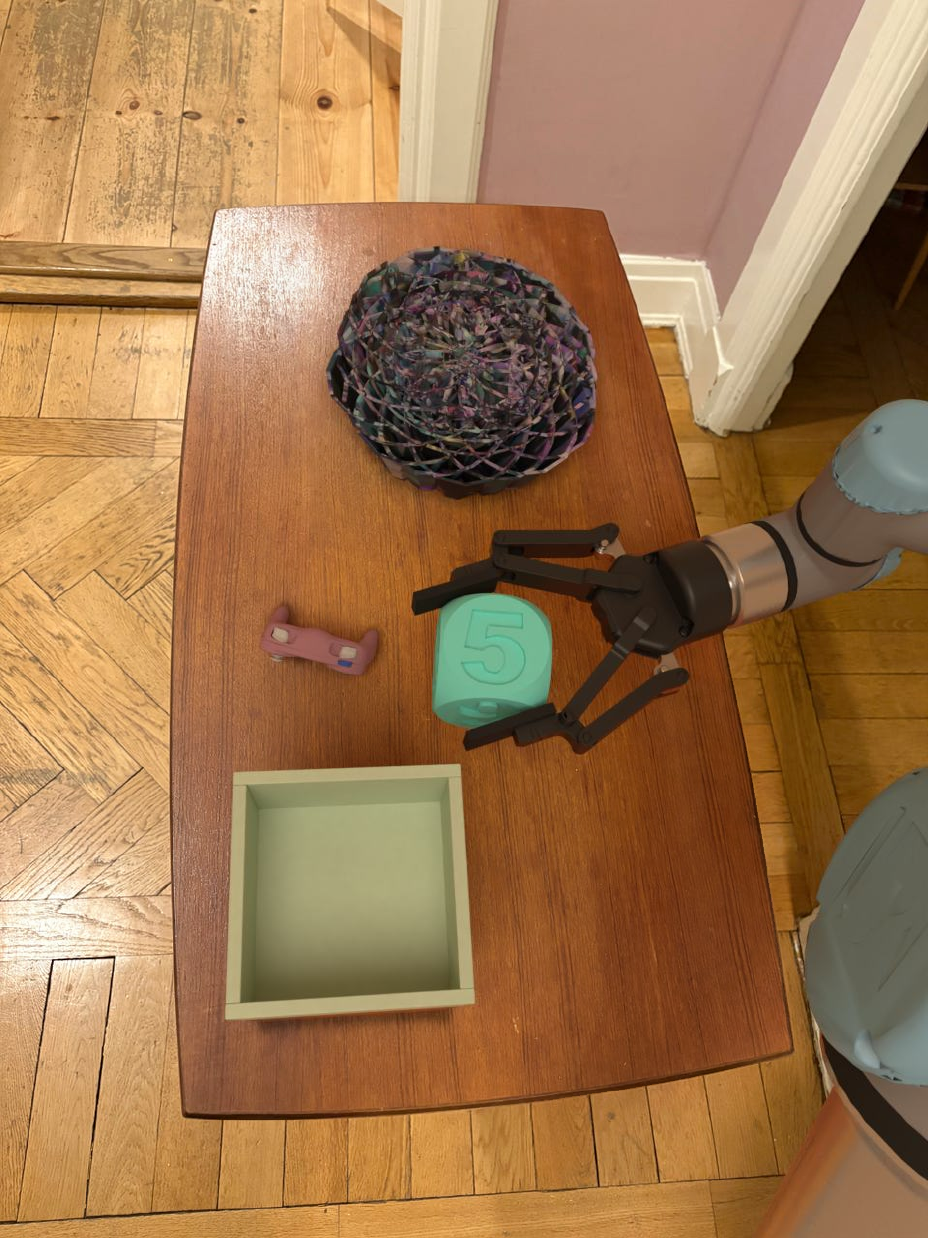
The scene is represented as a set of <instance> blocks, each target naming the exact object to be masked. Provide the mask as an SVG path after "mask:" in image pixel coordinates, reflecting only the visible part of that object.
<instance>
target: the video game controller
mask: <svg viewBox="0 0 928 1238" xmlns="http://www.w3.org/2000/svg"><path fill="white" fill-rule="evenodd" d="M289 618H290V609H289V607H288V606H287V605H285V604H282V605H280V606H278V607H277V608H276V609H275V610H274V612H273V613H272V615H271V616H270V618H269V619H268V620H267V623H266V625H265V626H264V629H263V631H262V634H261V636H260V642H259V646H258V648H259V649H260V650H262V651H265V652H267V653H269V654H270V655H272V656H269V659H271V661H273V662H276V663H281V662H284V661H285V659H283V658H287V657H288V658H302V659H306V660H309V661H314V662H318V663H320V664H321V663H322V664H325V667H326V668H329V669H331V670H334V671H336V672H339V673H342V674H346V675H353V676H365V674H366V670H367V668H369V666H370V664H371V663H372V661H373V660H374V659H375V656H376V653H377V650H378V646H379V632H378V631H377V629H375V628H371V629H368V630H367V631H366V632H365V633H364V635H363V636H362V638H361V639H360V640H359V642H356V641H353V640H350V639H348V638H347V639H346V638H343V637H339V636H335V635H333V634H331V633H329V631H326V630H325V629H323V628H322V629H321V628H318V627H301V626H298V625H294V624H290V623H288V621H289Z"/></svg>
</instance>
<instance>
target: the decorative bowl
mask: <svg viewBox="0 0 928 1238" xmlns="http://www.w3.org/2000/svg"><path fill="white" fill-rule="evenodd" d="M342 317H343V318H342V320H341V323H340V325H339V326H338V329H337V332H336V336H337V339H338V346H337V348H336V349H335V350H334V351H333V352H332V355H331V357H330V359H329V361H328V364H327V366H326V369H325V375H326V381H327V388H328V395H329V396H330V398H331V399H332V400H333V401H334V402H335V403H336V404H337V406H338V407H340V409H341V410H342V411H343V412H344V413H345V414H347V416H348V418H349V421H350V423H351V425H352V427H354V428H355V429H356V433H357V434H358V436H359V437H360V438H361V439H362V440H363V442H364V443H365V444H366V445H367V446H368V447H369V448H370V450H371V451H372V452H373V453H374V454H375V455H376V456H377V457H378V459H379V460H380V462H381V464H382V465H383V467H385V469H386V470H387V471H388V472H389V473H390V474H391V476H393V477H395V478H396V479H398V480H401V481H409V483H410V484H411V485H413V486H414V487H416V488H417V489H419V490H420V491H436V490H438V491H439V492H440V493H441V494H442V495H443V496H444V497H445V498H448V499H452V500H456V501H457V500H461V499H465V498H468V497H471V496H473V495H475V493H476V494H478V495H479V496H491V495H497V494H498V493H501V492H502V491H503V490H506V491H512V490H513V491H514V490H518V489H523V487H525V486H527V485H528V484H530V483H531V482H532V481H533V480H535V479H536V478H538V477H539V476H540V475H542V474H546V473H547V472H549V471H550V470H552V469H553V468H555V467H556V466H557V465H559V464H561V463H562V462H563V461H565V460H567V459H568V458H569V455H570V454H572V452H575V450H577V449H579V448H580V447H582V446H584V445H585V444H586V443H587V442H588V440H589V438H590V436H591V433H592V431H593V429H594V427H595V423H596V422H595V420H596V419H595V418H596V417H595V416H596V407H597V380H598V378H599V377H598V372H597V369H596V366H595V362H594V359H595V357H596V353H597V352H596V348H595V344H594V341H593V337H592V333H591V330H590V328H588V326H587V325H586V324H585V323H584V322H583V321H582V320H581V319H580V317H579V315H578V312H577V311H576V309H575V307H574V305H573V304H571V303H570V302H569V301H568V300H567V299H566V297H565V296H564V295H563V294H562V293H561V292H560V290H559V289H558V288H557V287H556V286H555V285H554V284H553V283H552V282H551V280H549V279H547V278H544V277H543V276H540V275H538V274H536V272H534V271H532V270H531V269H529V268H527V267H526V266H524V265H523V264H521V263H519V262H518V261H516V260H514V259H513V258H509V257H503V256H498V255H495V254H491V253H487V252H483V251H479V250H477V249H476V250H475V249H472V248H462V249H453V248H449V247H445V246H441V245H436V246H435V245H434V246H427V247H421V248H420V247H419V248H411V249H409V250H408V251H406V252H405V253H403V254H401V255H400V256H398V257H396V258H395V259H390V260H385V261H384V262H382V263H380V264H379V265H378V266H376V267H375V268H373V269H372V270H370V271H369V272H367V273H365V274H364V275H363V277H362V280H361V283H360V285H359V287H358V289H357V290H356V291H355V292H353V294H352V295H351V298H350V303H349V307H348V309H347V310H346V311H345V313H344V315H343V316H342Z"/></svg>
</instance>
